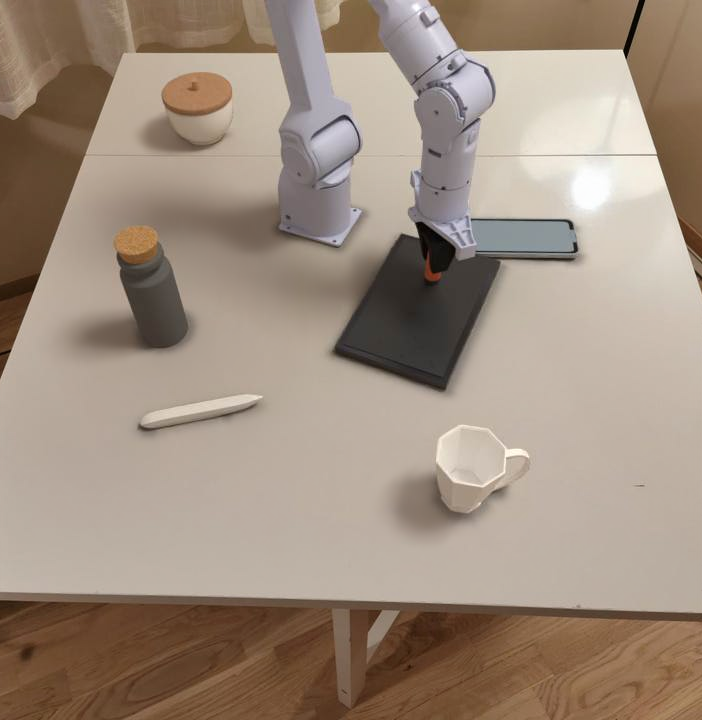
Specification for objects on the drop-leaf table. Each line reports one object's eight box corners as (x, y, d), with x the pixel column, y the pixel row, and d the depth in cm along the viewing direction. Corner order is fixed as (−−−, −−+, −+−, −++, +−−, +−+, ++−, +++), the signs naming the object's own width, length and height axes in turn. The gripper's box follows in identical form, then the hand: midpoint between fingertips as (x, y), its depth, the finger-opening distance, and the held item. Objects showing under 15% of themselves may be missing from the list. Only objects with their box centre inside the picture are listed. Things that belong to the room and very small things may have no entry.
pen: (265, 408, 80) (264, 400, 79) (141, 432, 79) (137, 424, 77) (263, 397, 81) (261, 389, 80) (140, 421, 80) (137, 412, 78)
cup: (419, 470, 75) (425, 429, 68) (510, 454, 76) (524, 412, 69) (437, 531, 71) (445, 493, 64) (533, 513, 72) (550, 474, 65)
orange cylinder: (427, 286, 90) (435, 237, 84) (421, 275, 91) (428, 226, 85) (442, 283, 90) (450, 234, 84) (436, 272, 91) (444, 223, 85)
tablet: (334, 353, 85) (334, 346, 84) (400, 239, 97) (401, 232, 96) (445, 391, 81) (446, 384, 80) (499, 267, 93) (501, 260, 92)
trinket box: (209, 107, 118) (199, 54, 111) (251, 132, 114) (244, 78, 106) (158, 135, 114) (144, 81, 106) (200, 163, 109) (188, 108, 102)
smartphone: (463, 217, 99) (573, 218, 97) (462, 222, 99) (571, 223, 98) (465, 253, 94) (580, 254, 93) (465, 258, 95) (579, 260, 94)
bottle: (196, 318, 89) (172, 227, 77) (175, 353, 86) (146, 263, 74) (155, 308, 90) (125, 217, 78) (132, 341, 87) (97, 251, 75)
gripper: (388, 144, 81) (384, 233, 92) (438, 223, 73) (427, 311, 83) (445, 132, 83) (434, 221, 93) (500, 208, 74) (482, 297, 85)
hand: (435, 263), depth 89 cm, fingers closed on orange cylinder, 2 cm apart
